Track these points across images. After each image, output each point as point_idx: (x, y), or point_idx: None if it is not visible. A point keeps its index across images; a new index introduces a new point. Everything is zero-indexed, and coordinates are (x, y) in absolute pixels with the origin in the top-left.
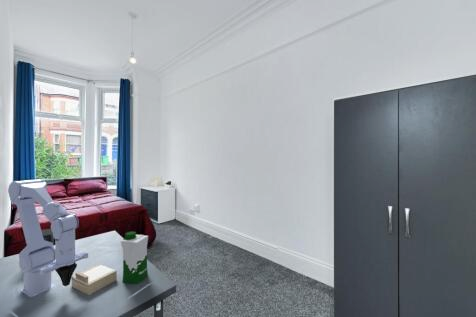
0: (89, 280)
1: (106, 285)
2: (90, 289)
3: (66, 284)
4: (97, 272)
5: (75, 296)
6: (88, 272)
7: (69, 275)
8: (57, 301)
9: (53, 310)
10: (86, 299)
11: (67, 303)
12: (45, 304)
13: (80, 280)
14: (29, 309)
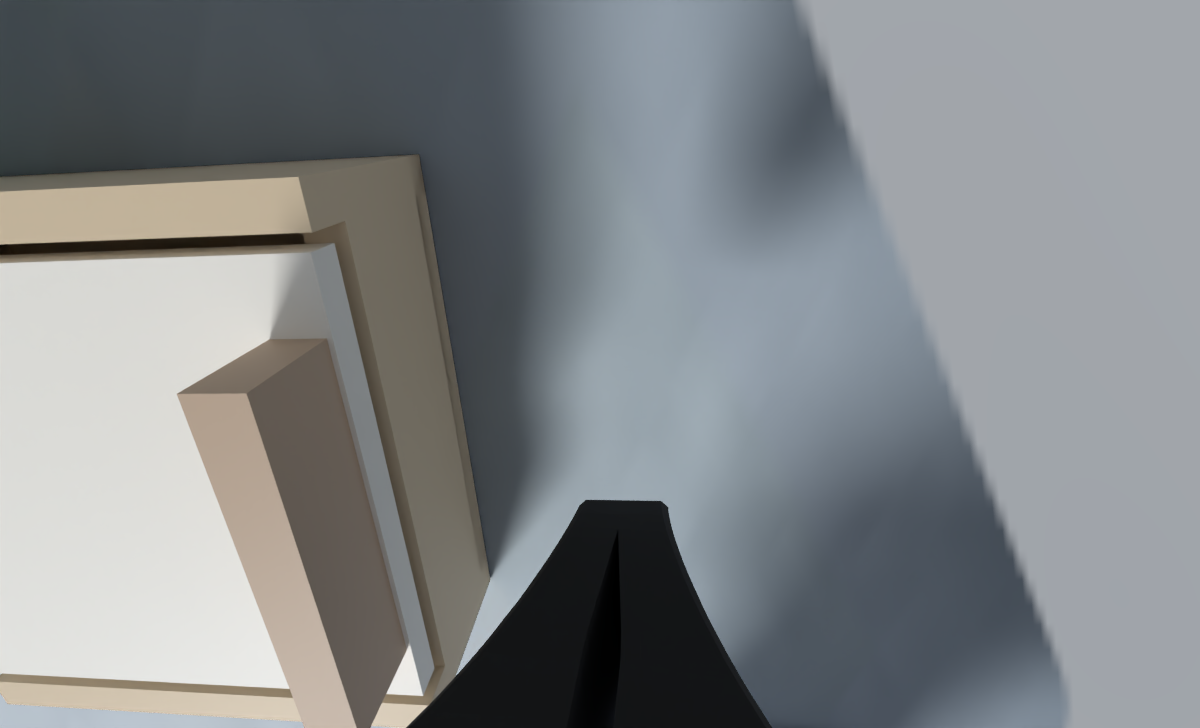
0: (244, 347)
1: (117, 171)
2: (336, 167)
3: (648, 518)
4: (63, 495)
5: (539, 353)
6: (199, 624)
7: (559, 682)
8: (722, 451)
9: (862, 289)
10: (470, 110)
11: (678, 282)
12: (825, 515)
13: (374, 503)
14: (961, 573)
